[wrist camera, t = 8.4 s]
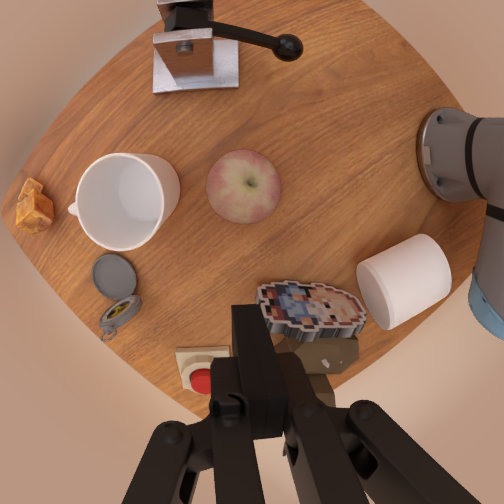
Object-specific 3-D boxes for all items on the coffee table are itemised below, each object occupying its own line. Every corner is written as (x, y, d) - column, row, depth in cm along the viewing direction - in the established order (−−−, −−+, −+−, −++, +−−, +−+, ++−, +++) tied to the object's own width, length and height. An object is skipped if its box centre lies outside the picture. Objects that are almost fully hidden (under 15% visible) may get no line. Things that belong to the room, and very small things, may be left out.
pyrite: (35, 200, 31) (53, 185, 31) (35, 237, 29) (55, 222, 29) (13, 185, 26) (31, 168, 26) (10, 224, 24) (29, 207, 24)
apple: (283, 198, 34) (301, 209, 26) (227, 227, 34) (230, 247, 27) (253, 140, 31) (264, 134, 24) (195, 170, 32) (188, 173, 24)
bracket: (237, 43, 27) (249, -16, 14) (238, 89, 29) (251, 46, 16) (156, 48, 26) (125, -4, 13) (154, 95, 28) (116, 59, 15)
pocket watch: (103, 243, 33) (69, 272, 24) (157, 274, 35) (138, 313, 26) (85, 290, 35) (55, 328, 25) (135, 318, 37) (116, 363, 28)
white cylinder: (396, 312, 27) (460, 273, 27) (356, 247, 34) (416, 219, 33) (382, 346, 37) (434, 315, 36) (354, 294, 43) (404, 269, 43)
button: (216, 367, 38) (216, 375, 36) (219, 385, 39) (219, 393, 38) (189, 368, 38) (188, 376, 36) (193, 386, 39) (192, 394, 37)
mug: (88, 166, 30) (41, 172, 19) (177, 148, 30) (158, 144, 20) (98, 231, 32) (58, 260, 22) (185, 219, 33) (171, 245, 23)
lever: (287, 43, 24) (308, 35, 21) (288, 67, 25) (310, 61, 22) (163, 16, 16) (178, -1, 14) (161, 45, 17) (176, 29, 15)
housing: (228, 345, 40) (229, 358, 37) (232, 382, 43) (233, 395, 40) (175, 347, 39) (173, 360, 36) (184, 384, 42) (182, 396, 39)
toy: (252, 286, 37) (262, 341, 28) (254, 277, 36) (265, 330, 28) (345, 293, 39) (373, 340, 31) (348, 285, 39) (378, 331, 30)
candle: (298, 387, 44) (322, 455, 30) (242, 350, 40) (254, 430, 26) (359, 337, 42) (403, 399, 28) (310, 290, 38) (355, 357, 24)
